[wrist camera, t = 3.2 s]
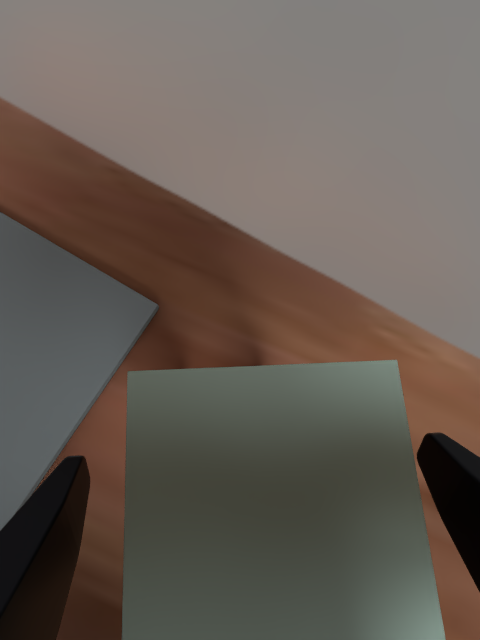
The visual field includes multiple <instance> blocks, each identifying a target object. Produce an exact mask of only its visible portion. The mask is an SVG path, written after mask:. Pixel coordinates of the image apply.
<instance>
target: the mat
mask: <svg viewBox="0 0 480 640" xmlns="http://www.w3.org/2000/svg"><path fill="white" fill-rule="evenodd" d="M158 309H159V306H158V304H156V303H154V302H152V301H151V300H149V299H147V298H146V297H144V296H142V295H141V294H139V293H137V292H135V291H134V290H132V289H130V288H129V287H127V286H125V285H124V284H122V283H120V282H118V281H117V280H115V279H113V278H112V277H110V276H108V275H106V274H105V273H103V272H101V271H100V270H98V269H96V268H95V267H93V266H91V265H89V264H88V263H86V262H84V261H83V260H81V259H79V258H78V257H76V256H74V255H72V254H71V253H69V252H67V251H66V250H64V249H62V248H61V247H59V246H57V245H55V244H54V243H52V242H50V241H49V240H47V239H45V238H44V237H42V236H40V235H38V234H37V233H35V232H33V231H32V230H30V229H28V228H27V227H25V226H23V225H21V224H20V223H18V222H16V221H15V220H13V219H11V218H10V217H8V216H6V215H4V214H3V213H1V212H0V530H1V529H2V528H3V527H4V526H5V525H6V524H7V522H8V521H9V520H10V519H11V518H12V517H13V516H14V515H15V513H16V512H17V511H18V510H19V509H20V508H21V507H22V506H23V504H24V503H25V502H26V501H27V500H28V499H29V498H30V496H31V495H32V493H33V492H34V490H35V489H36V488H37V486H38V485H39V483H40V482H41V480H42V479H43V477H44V476H45V474H46V473H47V471H48V470H49V469H50V467H51V466H52V464H53V463H54V461H55V460H56V458H57V457H58V455H59V454H60V452H61V451H62V449H63V448H64V447H65V445H66V444H67V442H68V441H69V439H70V438H71V436H72V435H73V433H74V432H75V430H76V429H77V428H78V426H79V425H80V423H81V422H82V420H83V419H84V417H85V416H86V414H87V413H88V411H89V410H90V409H91V407H92V406H93V404H94V403H95V401H96V400H97V398H98V397H99V395H100V394H101V392H102V391H103V390H104V388H105V387H106V385H107V384H108V382H109V381H110V379H111V378H112V376H113V375H114V373H115V372H116V371H117V369H118V368H119V366H120V365H121V363H122V362H123V360H124V359H125V357H126V356H127V354H128V353H129V352H130V350H131V349H132V347H133V346H134V344H135V343H136V341H137V340H138V338H139V337H140V335H141V334H142V333H143V331H144V330H145V328H146V327H147V325H148V324H149V322H150V321H151V319H152V318H153V316H154V315H155V314H156V312H157V311H158Z"/></svg>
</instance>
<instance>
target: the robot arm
mask: <svg viewBox="0 0 480 640" xmlns="http://www.w3.org/2000/svg"><path fill="white" fill-rule="evenodd" d="M417 461H418V464H419V466H420V469H421V471H422V473H423V476H424V478H425V481H426V483H427V486H428V488H429V490H430V493H431V495H432V498H433V500H434V503H435V505H436V508H437V510H438V512H439V514H440V517H441V519H442V521H443V523H444V525H445V527H446V529H447V531H448V532H449V534H450V536H451V538H452V540H453V542H454V544H455V546H456V548H457V550H458V552H459V554H460V555H461V557H462V559H463V561H464V563H465V565H466V567H467V569H468V571H469V573H470V575H471V577H472V578H473V580H474V582H475V584H476V586H477V588H478V590H479V592H480V457H478V456H477V455H475V454H474V453H472V452H471V451H469V450H468V449H466V448H465V447H463V446H462V445H460V444H459V443H457V442H455V441H454V440H452V439H451V438H449V437H448V436H446V435H445V434H443V433H427V434H426V435H425V436H424V438H423V440H422V443H421V445H420V447H419V450H418V452H417ZM89 489H90V475H89V471H88V467H87V462H86V459H85V457H84V456H69V457H66V458H65V459H64V460H63V461H62V462H61V463H60V464H59V465H58V466H57V467H56V469H55V470H54V471H53V472H52V473H51V474H50V475H49V476H48V478H47V479H46V480H45V481H44V482H43V483H42V484H41V485H40V486H39V488H38V489H37V490H36V491H35V492H34V493H33V494H32V495H31V497H30V498H29V499H28V500H27V501H26V502H25V503H24V504H23V506H22V507H21V508H20V509H19V510H18V511H17V512H16V513H15V515H14V516H13V517H12V518H11V519H10V520H9V521H8V522H7V524H6V525H5V526H4V527H3V528H2V529H1V530H0V640H56V637H57V633H58V630H59V626H60V622H61V619H62V615H63V611H64V608H65V604H66V600H67V597H68V593H69V589H70V585H71V582H72V578H73V574H74V571H75V567H76V563H77V559H78V555H79V550H80V545H81V539H82V533H83V526H84V520H85V514H86V508H87V501H88V495H89Z"/></svg>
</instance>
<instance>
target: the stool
mask: <svg viewBox="0 0 480 640" xmlns="http://www.w3.org/2000/svg"><path fill="white" fill-rule="evenodd" d="M122 640H446V639H445V633H444V628H443V622H442V616H441V610H440V605H439V599H438V593H437V587H436V582H435V576H434V570H433V564H432V559H431V553H430V547H429V541H428V536H427V530H426V524H425V518H424V513H423V507H422V501H421V495H420V490H419V484H418V478H417V472H416V467H415V461H414V455H413V449H412V444H411V438H410V432H409V426H408V421H407V415H406V409H405V403H404V398H403V392H402V386H401V380H400V375H399V369H398V363H397V360H384V361H361V362H337V363H313V364H290V365H266V366H243V367H219V368H196V369H172V370H148V371H128V381H127V427H126V473H125V519H124V565H123V611H122Z"/></svg>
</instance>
